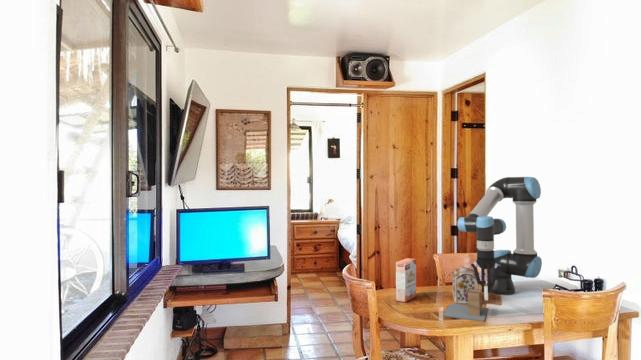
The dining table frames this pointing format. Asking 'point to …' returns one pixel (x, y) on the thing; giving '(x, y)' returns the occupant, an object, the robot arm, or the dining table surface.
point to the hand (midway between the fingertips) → (486, 299)
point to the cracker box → (405, 279)
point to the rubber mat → (464, 312)
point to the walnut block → (474, 302)
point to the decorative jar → (463, 284)
